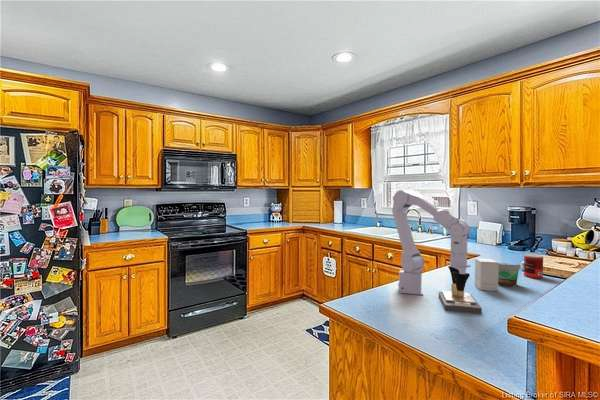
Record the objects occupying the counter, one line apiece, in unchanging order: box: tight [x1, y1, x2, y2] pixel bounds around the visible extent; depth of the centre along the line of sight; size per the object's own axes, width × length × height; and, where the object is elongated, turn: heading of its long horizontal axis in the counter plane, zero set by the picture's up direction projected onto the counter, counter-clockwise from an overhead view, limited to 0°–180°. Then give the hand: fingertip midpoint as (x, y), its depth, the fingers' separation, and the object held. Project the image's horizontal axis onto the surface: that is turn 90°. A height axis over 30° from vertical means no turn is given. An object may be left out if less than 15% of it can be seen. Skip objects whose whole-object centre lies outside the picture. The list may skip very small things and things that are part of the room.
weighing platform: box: [441, 289, 476, 304], centre depth 121 cm, size 10×11×1 cm
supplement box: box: [474, 257, 500, 292], centre depth 139 cm, size 7×7×13 cm
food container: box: [498, 262, 522, 288], centre depth 143 cm, size 12×6×10 cm, turn 68°
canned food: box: [523, 253, 544, 280], centre depth 156 cm, size 8×8×11 cm
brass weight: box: [450, 282, 465, 298], centre depth 120 cm, size 4×4×4 cm
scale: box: [438, 291, 483, 315], centre depth 119 cm, size 12×15×3 cm
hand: (458, 287), depth 120 cm, fingers open, 7 cm apart
